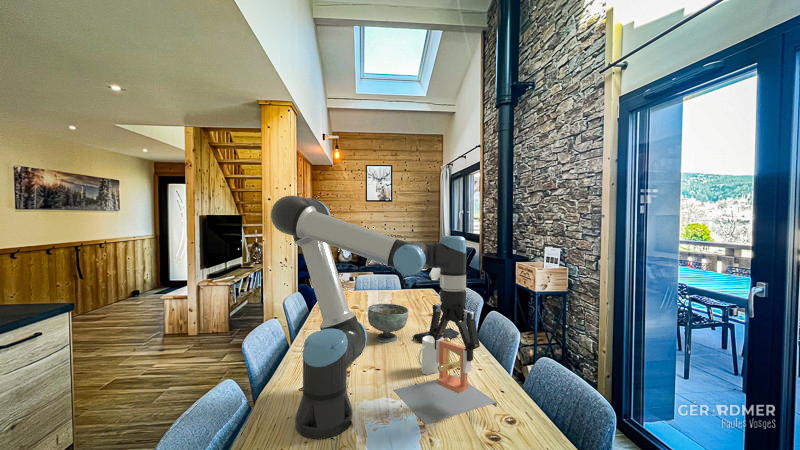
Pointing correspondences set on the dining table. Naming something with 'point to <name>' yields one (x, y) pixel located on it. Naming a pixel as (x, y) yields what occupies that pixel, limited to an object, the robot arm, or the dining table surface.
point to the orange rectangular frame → (448, 380)
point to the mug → (428, 356)
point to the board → (441, 400)
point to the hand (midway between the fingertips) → (453, 366)
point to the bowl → (387, 320)
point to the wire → (449, 365)
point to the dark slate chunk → (447, 334)
